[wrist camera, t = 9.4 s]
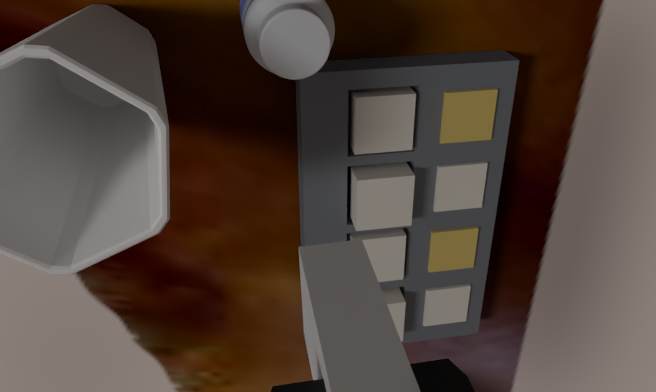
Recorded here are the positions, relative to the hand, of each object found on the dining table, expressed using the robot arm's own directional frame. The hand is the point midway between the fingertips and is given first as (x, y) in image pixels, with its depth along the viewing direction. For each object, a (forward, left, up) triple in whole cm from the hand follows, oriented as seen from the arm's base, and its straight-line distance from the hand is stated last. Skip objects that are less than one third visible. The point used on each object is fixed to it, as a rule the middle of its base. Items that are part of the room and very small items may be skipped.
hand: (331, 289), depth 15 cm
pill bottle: (0, +2, -31) cm, 31 cm away
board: (+17, +11, -31) cm, 37 cm away
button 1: (+8, +9, -30) cm, 33 cm away
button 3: (+20, +9, -30) cm, 37 cm away
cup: (+3, -10, -31) cm, 33 cm away
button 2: (+14, +9, -29) cm, 34 cm away
